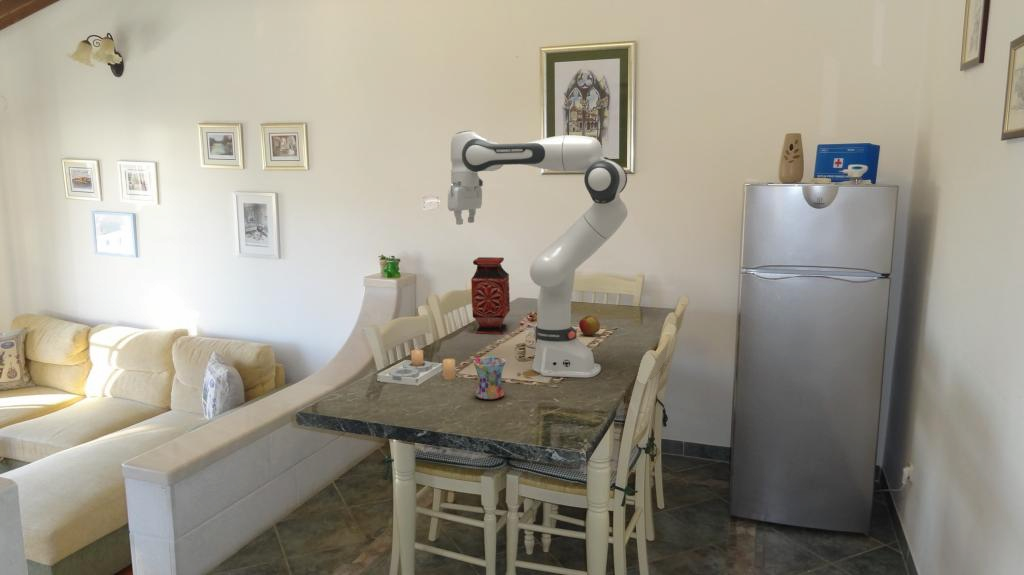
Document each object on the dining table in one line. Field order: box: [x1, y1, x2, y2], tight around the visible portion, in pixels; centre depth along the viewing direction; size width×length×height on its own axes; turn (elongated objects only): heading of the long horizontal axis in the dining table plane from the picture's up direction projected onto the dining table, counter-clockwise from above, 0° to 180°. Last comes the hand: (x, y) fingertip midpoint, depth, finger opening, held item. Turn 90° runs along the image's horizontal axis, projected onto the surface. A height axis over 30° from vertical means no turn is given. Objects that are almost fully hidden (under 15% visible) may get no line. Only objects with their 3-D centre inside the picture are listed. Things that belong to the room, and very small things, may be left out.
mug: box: [472, 356, 506, 400], centre depth 196 cm, size 12×9×11 cm
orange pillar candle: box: [442, 358, 456, 381], centre depth 212 cm, size 4×4×6 cm
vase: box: [471, 256, 511, 335], centre depth 276 cm, size 14×14×30 cm
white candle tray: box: [376, 349, 443, 387], centre depth 216 cm, size 14×18×7 cm
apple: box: [578, 315, 601, 337], centre depth 269 cm, size 8×8×8 cm
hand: (465, 223), depth 225 cm, fingers open, 8 cm apart
